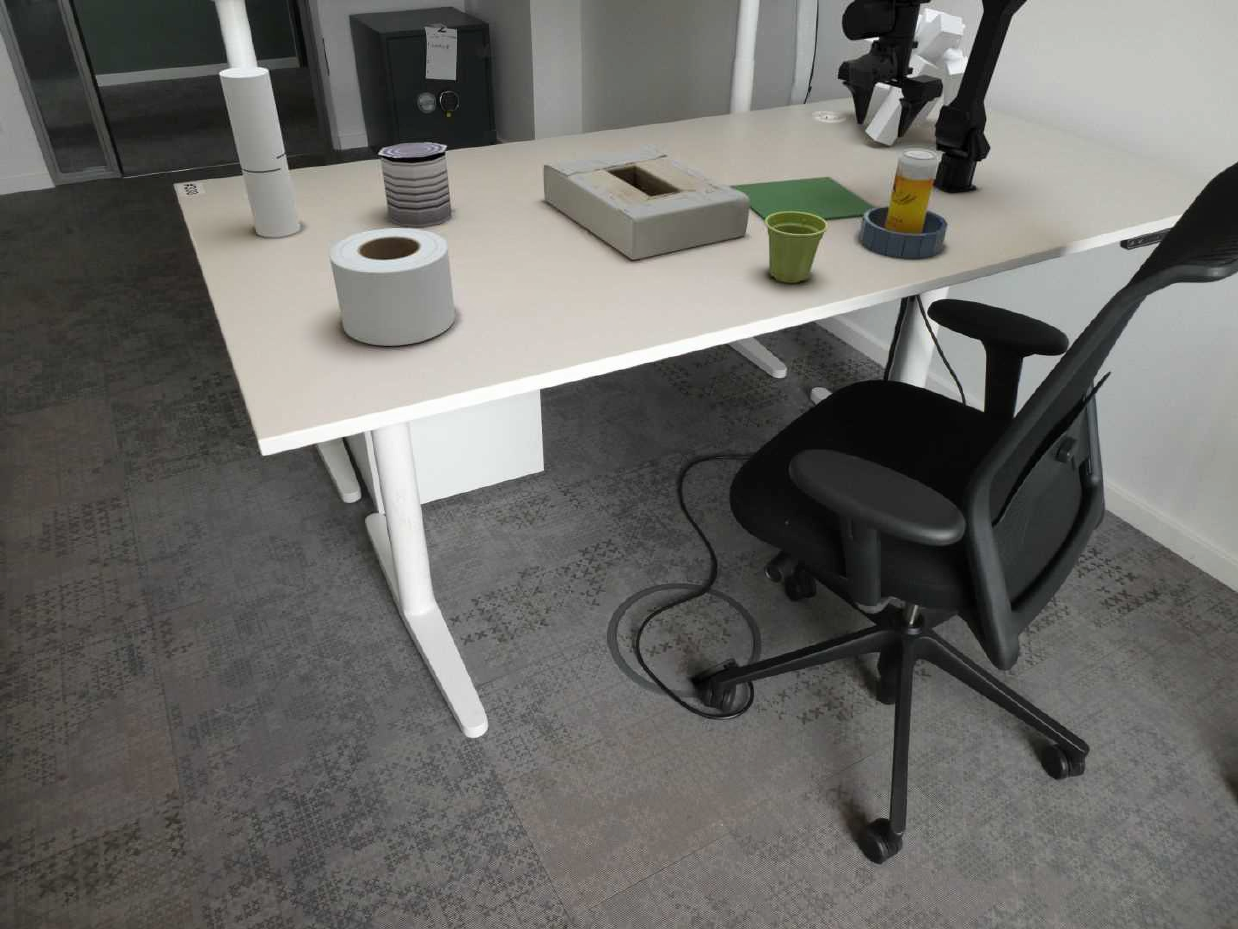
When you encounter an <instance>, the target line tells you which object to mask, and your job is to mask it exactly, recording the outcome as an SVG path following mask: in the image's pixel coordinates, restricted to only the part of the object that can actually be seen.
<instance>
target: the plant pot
mask: <svg viewBox="0 0 1238 929" xmlns="http://www.w3.org/2000/svg"><path fill="white" fill-rule="evenodd" d="M764 225H765V227H766V228H767V229H766V230H767V235H768V260H769V262H768V263H769V265H768V266H769V275H770V277H771V278H774V279H775V280H776V281H777V282H782V283H788V284H798V283H800V282H801V281H807V280H808V279H809V277H810V274H811V270H812V266H813V263H814V261H815V257H816V254H817V251H818V248H819V245H820V242H821V240H822V239H823V236H824V234H825V233H826V232H827V231H828V229H829V223H828V222H827V220H824V219H822V218H821V217H819V216H816V215H813V214H809V213H804V212H793V211H788V212H778V213H774V214H771V215H770V216H768V217H767V218H766V219H765V220H764Z"/></svg>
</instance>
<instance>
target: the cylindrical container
mask: <svg viewBox="0 0 1238 929" xmlns="http://www.w3.org/2000/svg"><path fill="white" fill-rule="evenodd" d="M218 75H219V78H220V84H221V88H222V91H223V97H224V100H225V104H226V107H227V113H228V117H229V121H230V125H231V126H230V127H231V130H232V135H233V139H234V144H235V147H236V152H237V155H238V156H237V157H238V159H239V164H240V168H241V173H242V177H243V181H244V184H245V185H244V186H245V190H246V194H247V198H248V203H249V206H250V211H251V216H252V220H253V223H254V228H255V232H256V234H257V235H258V236H261V237H265V238H281V237H282V238H283V237H287V236H290V235H293V234H296V233H298V232H299V231H300V230H301V225H300V219H299V213H298V209H297V204H296V199H295V195H294V194H295V193H294V190H293V184H292V180H291V174H290V169H289V165H288V160H287V154H286V150H285V146H284V145H285V144H284V141H283V135H282V129H281V125H280V120H279V116H278V111H277V105H276V100H275V96H274V95H275V94H274V90H273V87H272V80H271V76H270V72H269V69H268V68H265V67H260V66H259V67H258V66H239V67H230V68H226V69H224V70H220V71H219V73H218Z"/></svg>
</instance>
